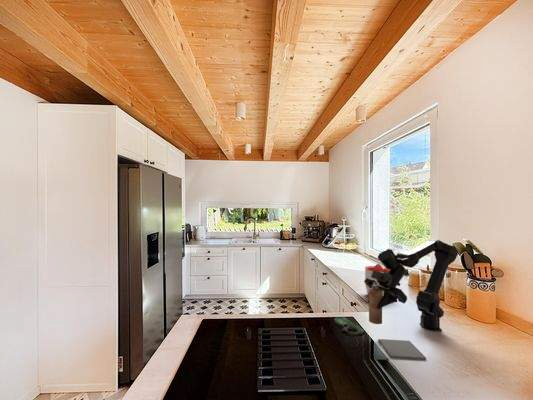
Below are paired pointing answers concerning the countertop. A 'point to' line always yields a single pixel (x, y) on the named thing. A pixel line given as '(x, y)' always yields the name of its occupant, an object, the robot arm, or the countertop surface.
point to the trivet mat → (401, 349)
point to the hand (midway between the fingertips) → (372, 305)
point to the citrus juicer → (370, 270)
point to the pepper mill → (375, 305)
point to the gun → (348, 326)
